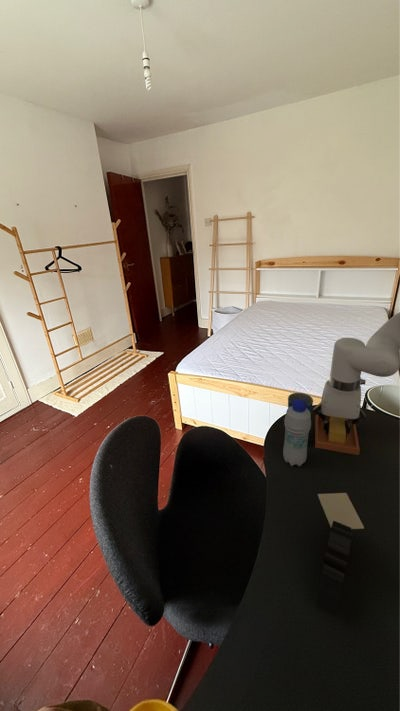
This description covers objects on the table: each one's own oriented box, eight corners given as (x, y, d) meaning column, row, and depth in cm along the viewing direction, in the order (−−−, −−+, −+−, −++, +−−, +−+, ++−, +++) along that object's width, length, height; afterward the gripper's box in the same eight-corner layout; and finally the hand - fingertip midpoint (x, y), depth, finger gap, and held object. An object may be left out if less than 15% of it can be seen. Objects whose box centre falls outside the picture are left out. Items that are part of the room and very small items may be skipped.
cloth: (346, 493, 73) (346, 492, 73) (364, 528, 65) (364, 527, 65) (317, 494, 73) (317, 494, 73) (331, 530, 65) (331, 529, 65)
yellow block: (327, 425, 95) (328, 415, 93) (342, 427, 94) (344, 417, 92) (328, 442, 88) (329, 431, 87) (344, 444, 87) (346, 434, 85)
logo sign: (332, 527, 66) (338, 492, 61) (349, 534, 64) (357, 498, 59) (313, 613, 52) (320, 577, 47) (335, 625, 50) (344, 589, 45)
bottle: (309, 456, 85) (316, 397, 76) (303, 472, 79) (310, 412, 71) (285, 448, 88) (289, 391, 79) (278, 464, 83) (282, 405, 74)
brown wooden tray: (315, 419, 99) (315, 414, 98) (353, 425, 95) (354, 420, 94) (314, 447, 87) (315, 442, 87) (358, 455, 84) (359, 449, 83)
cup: (285, 446, 89) (288, 405, 82) (285, 431, 94) (287, 391, 88) (309, 449, 87) (314, 407, 80) (307, 433, 93) (312, 393, 86)
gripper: (376, 378, 83) (365, 429, 91) (312, 372, 89) (306, 420, 97) (380, 392, 77) (368, 446, 85) (311, 384, 82) (306, 436, 90)
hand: (335, 432), depth 91 cm, fingers closed on yellow block, 4 cm apart
